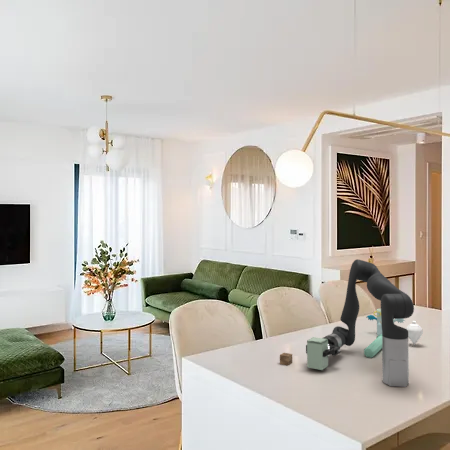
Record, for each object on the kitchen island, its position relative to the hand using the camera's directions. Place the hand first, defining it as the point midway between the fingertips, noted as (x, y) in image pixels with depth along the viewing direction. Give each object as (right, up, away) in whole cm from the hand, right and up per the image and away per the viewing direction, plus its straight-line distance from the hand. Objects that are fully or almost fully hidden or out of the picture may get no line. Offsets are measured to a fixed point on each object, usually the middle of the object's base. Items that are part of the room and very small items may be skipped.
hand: (315, 353), depth 190 cm
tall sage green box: (+1, -6, +2) cm, 6 cm away
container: (+33, -7, +29) cm, 45 cm away
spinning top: (+55, -7, +38) cm, 67 cm away
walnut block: (-11, -7, +11) cm, 17 cm away
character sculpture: (+48, -7, +59) cm, 76 cm away
